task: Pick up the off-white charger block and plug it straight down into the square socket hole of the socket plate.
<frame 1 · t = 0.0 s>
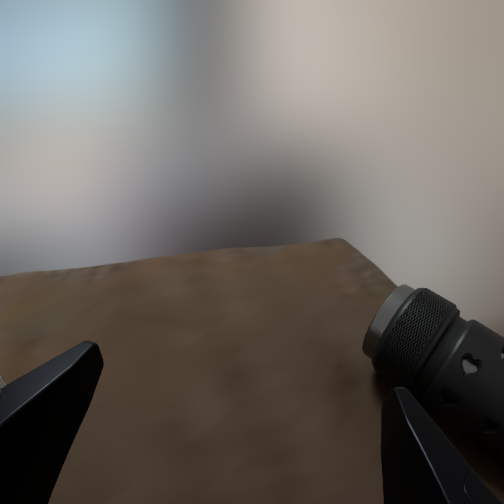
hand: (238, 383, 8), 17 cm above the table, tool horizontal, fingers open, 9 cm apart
muzzle brake: (465, 427, 22), on the table
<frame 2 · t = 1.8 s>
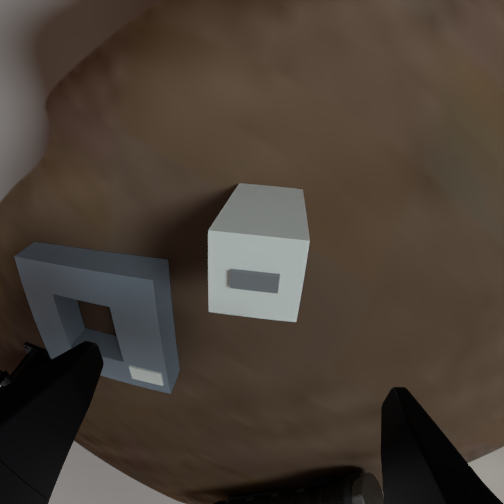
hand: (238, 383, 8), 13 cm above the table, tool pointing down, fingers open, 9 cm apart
charger: (268, 216, 20), on the table
socket plate: (103, 309, 26), on the table
muzzle brake: (291, 486, 39), on the table
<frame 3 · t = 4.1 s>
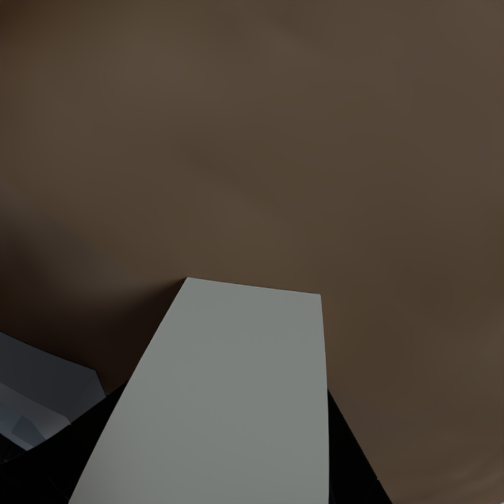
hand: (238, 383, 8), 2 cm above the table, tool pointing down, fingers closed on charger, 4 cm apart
charger: (248, 336, 10), on the table, touching gripper
socket plate: (38, 397, 16), on the table
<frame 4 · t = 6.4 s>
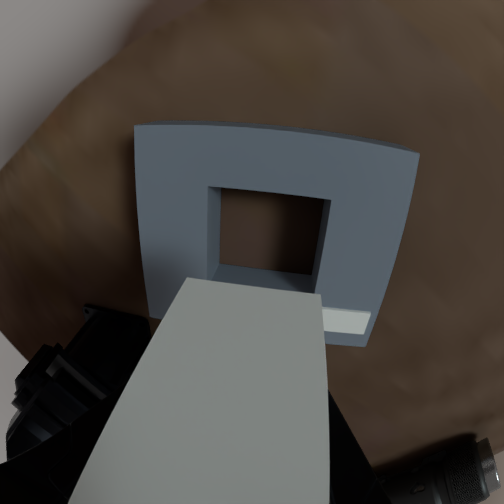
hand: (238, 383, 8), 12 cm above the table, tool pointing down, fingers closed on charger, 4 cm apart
charger: (248, 336, 10), point 10 cm above the table, touching gripper
socket plate: (269, 226, 19), on the table
muzzle brake: (395, 469, 33), on the table
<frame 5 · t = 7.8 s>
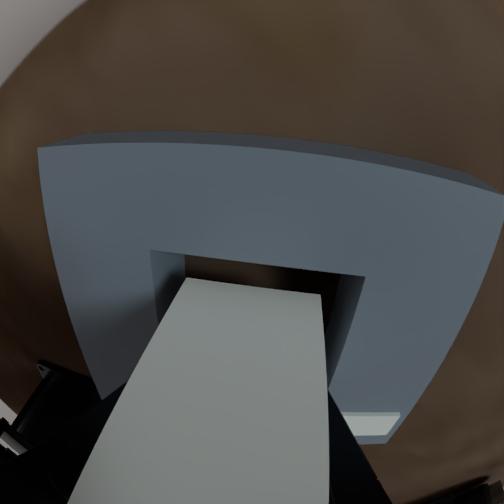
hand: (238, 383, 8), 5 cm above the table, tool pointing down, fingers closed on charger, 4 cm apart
charger: (248, 337, 10), point 3 cm above the table, touching gripper
socket plate: (258, 293, 12), on the table
when the fingers open (4 cm above the table, at t = 8.7 s): charger drops 2 cm, resting in socket plate.
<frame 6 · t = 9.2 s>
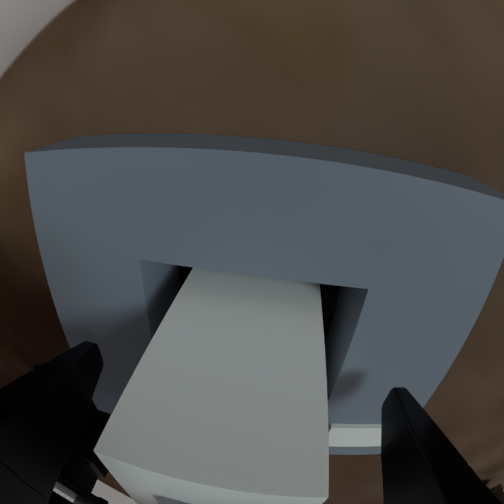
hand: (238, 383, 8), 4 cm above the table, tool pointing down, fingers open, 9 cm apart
charger: (256, 301, 12), resting in socket plate
socket plate: (256, 302, 12), on the table
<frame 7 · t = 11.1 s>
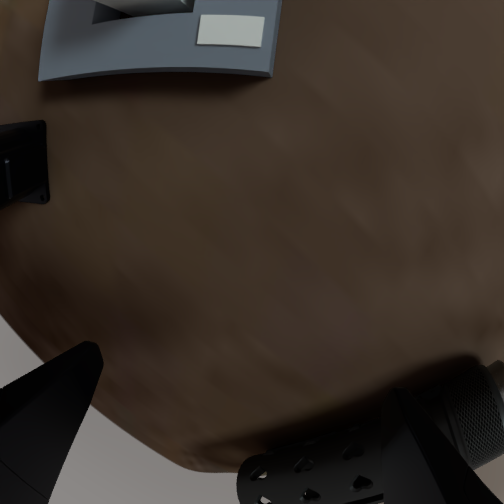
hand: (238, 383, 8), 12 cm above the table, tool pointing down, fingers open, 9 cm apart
muzzle brake: (373, 415, 28), on the table
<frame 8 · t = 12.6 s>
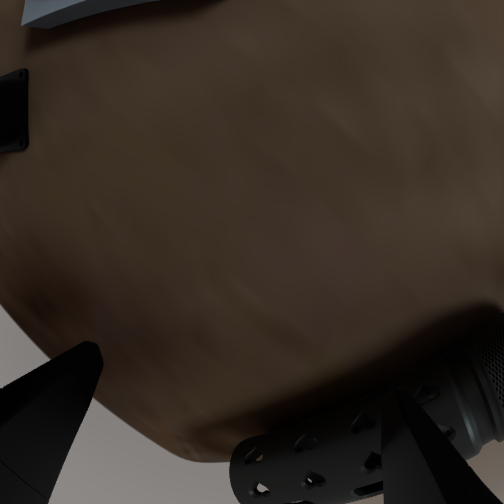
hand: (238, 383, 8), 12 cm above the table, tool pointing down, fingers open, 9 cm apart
muzzle brake: (386, 385, 25), on the table
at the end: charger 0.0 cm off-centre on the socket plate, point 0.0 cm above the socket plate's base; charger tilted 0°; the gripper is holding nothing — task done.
